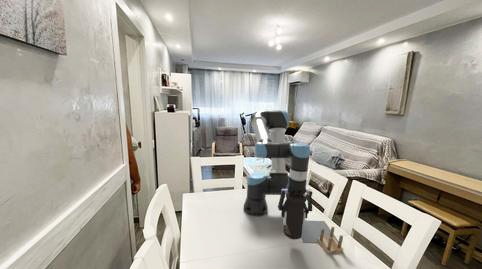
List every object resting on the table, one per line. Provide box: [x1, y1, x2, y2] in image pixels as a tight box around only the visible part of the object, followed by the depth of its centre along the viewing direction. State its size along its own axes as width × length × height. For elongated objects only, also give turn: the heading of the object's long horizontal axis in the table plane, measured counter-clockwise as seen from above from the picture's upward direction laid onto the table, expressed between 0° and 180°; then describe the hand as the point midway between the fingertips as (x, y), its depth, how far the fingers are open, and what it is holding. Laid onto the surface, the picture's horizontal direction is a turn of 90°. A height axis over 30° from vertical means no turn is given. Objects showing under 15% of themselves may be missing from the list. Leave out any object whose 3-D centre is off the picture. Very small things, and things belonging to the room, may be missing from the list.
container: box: [283, 193, 307, 240], centre depth 90 cm, size 9×9×20 cm
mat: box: [300, 219, 339, 244], centre depth 103 cm, size 18×18×1 cm
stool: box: [317, 226, 344, 255], centre depth 92 cm, size 8×8×8 cm
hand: (293, 223), depth 91 cm, fingers closed on container, 8 cm apart
